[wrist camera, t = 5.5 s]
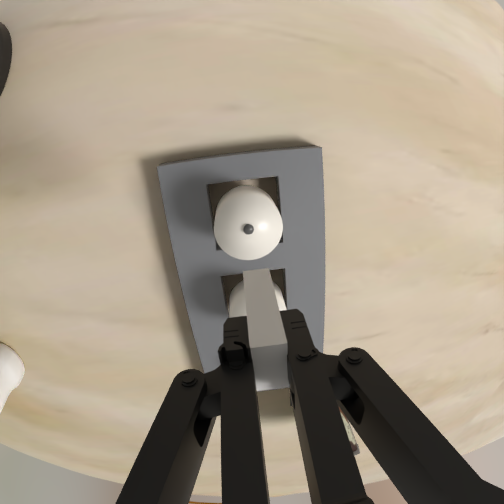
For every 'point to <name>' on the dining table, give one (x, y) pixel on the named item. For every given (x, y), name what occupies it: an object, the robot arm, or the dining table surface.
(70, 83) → the dining table surface
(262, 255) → the one dot button
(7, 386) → the bottle
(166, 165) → the button board
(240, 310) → the two dot button
